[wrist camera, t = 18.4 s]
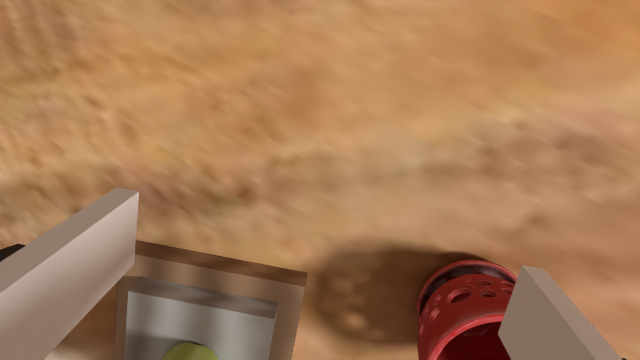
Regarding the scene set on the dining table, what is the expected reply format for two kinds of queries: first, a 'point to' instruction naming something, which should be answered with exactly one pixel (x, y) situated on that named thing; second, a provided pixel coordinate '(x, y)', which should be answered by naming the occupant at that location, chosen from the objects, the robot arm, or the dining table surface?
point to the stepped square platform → (205, 306)
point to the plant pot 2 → (464, 312)
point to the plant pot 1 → (189, 352)
